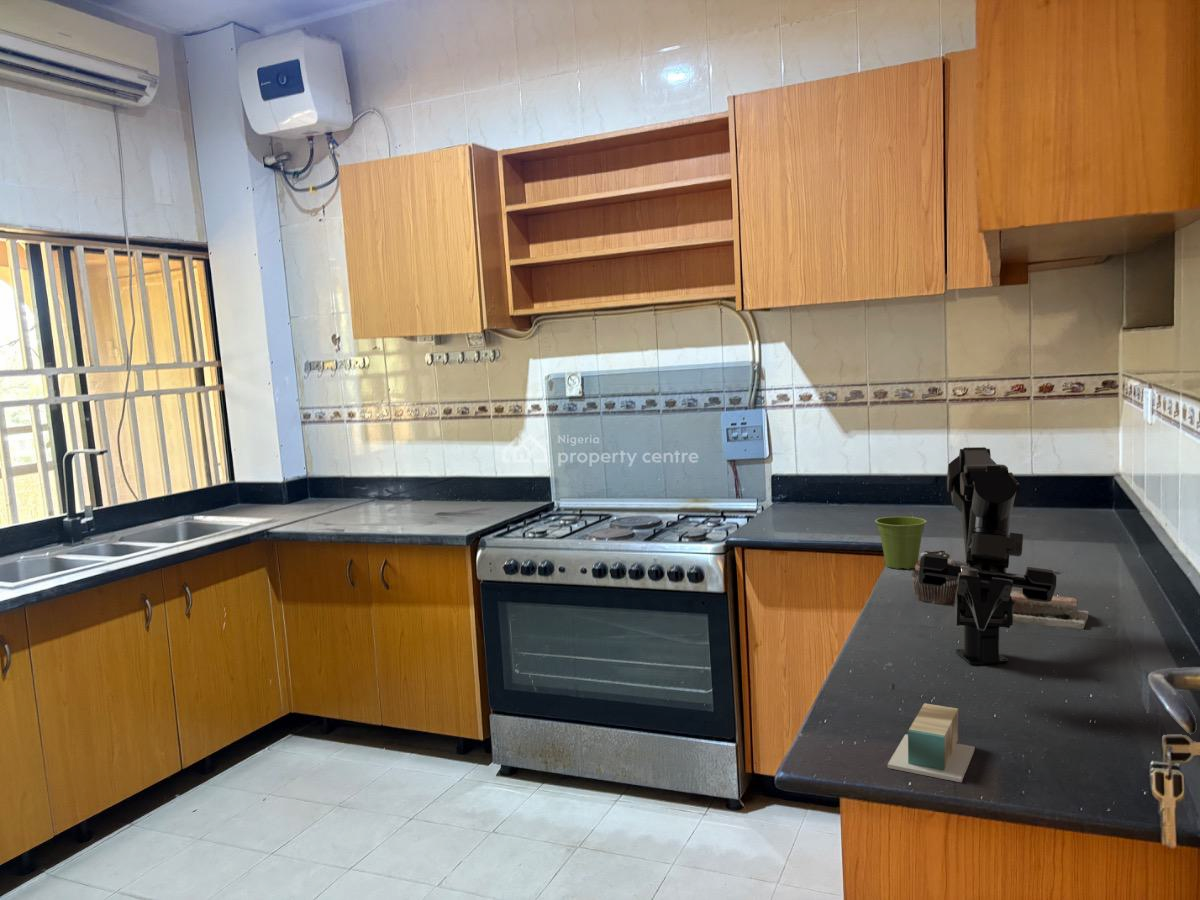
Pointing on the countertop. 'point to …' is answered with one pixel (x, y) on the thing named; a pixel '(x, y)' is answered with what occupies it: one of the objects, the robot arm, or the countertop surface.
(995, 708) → the countertop surface
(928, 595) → the cupcake
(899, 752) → the mat
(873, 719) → the countertop surface
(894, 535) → the plant pot
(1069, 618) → the stepped brick
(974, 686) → the countertop surface
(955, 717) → the block
